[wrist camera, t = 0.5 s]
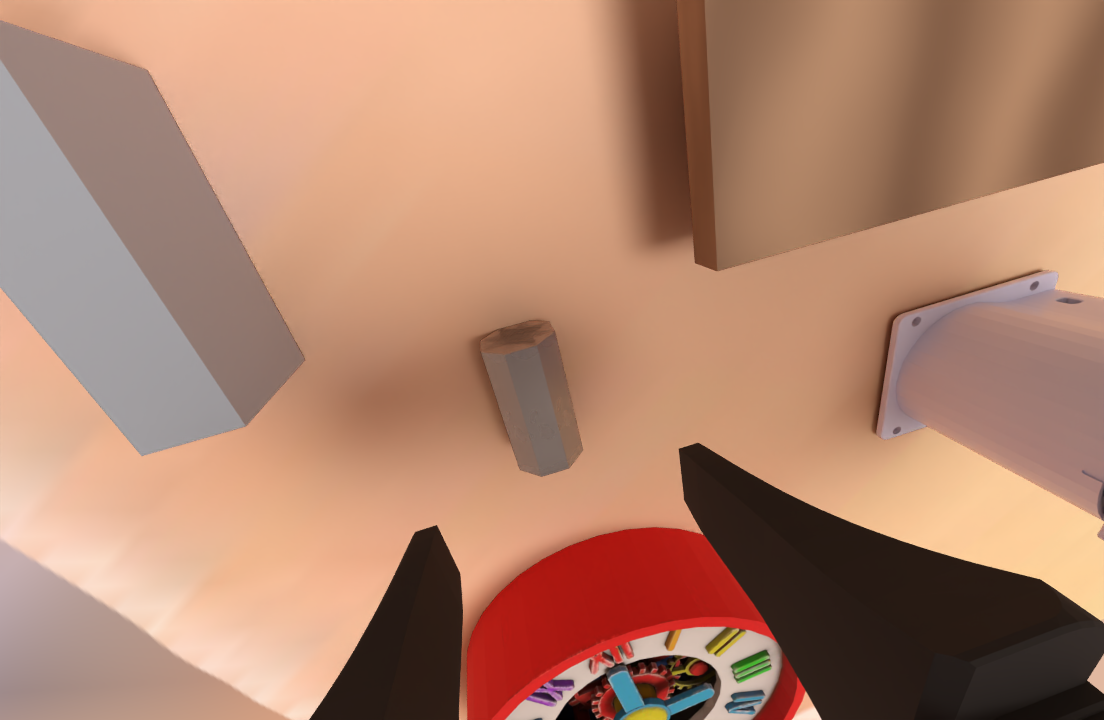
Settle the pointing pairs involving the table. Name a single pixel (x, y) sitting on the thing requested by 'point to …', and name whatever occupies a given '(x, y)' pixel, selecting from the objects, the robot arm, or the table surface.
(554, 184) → the table surface
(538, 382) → the roller
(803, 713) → the decorative container
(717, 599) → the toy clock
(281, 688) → the table surface
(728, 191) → the slab
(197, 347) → the block
